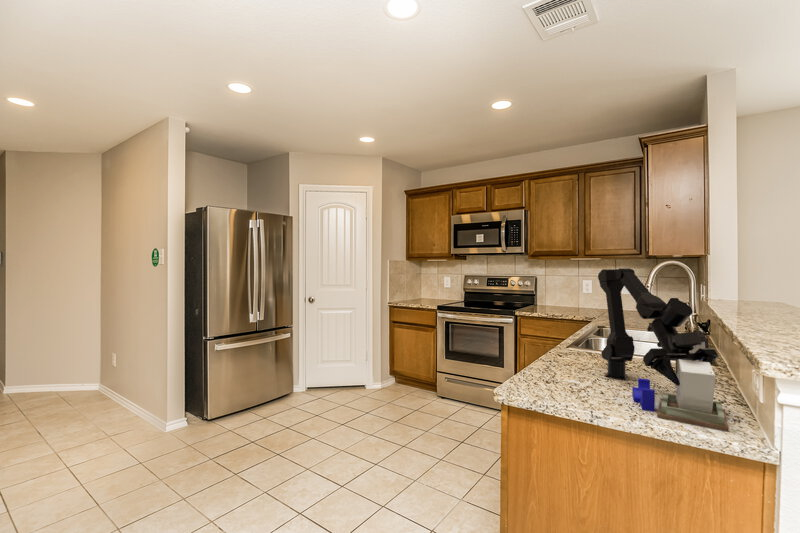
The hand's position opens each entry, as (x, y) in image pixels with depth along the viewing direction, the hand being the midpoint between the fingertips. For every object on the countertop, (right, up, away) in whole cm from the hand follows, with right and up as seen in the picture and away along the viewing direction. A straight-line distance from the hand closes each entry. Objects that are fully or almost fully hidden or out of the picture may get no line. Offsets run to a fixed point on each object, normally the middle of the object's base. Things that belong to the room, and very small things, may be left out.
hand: (695, 384), depth 109 cm
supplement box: (0, -7, +2) cm, 7 cm away
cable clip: (-8, -9, +10) cm, 16 cm away
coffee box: (+22, -8, +32) cm, 40 cm away
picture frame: (0, -9, +1) cm, 9 cm away
